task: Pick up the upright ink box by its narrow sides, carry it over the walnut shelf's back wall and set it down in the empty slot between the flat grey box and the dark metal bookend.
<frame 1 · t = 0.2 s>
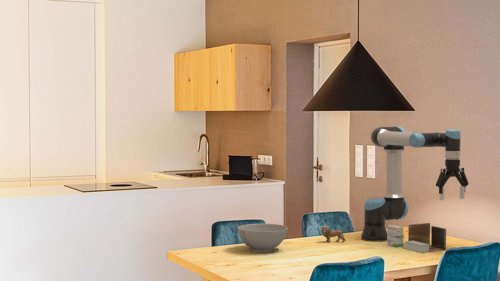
hand: (452, 199, 380), 28 cm above the table, fingers open, 13 cm apart
flat grey box: (416, 250, 379), resting on shelf
decorative bowl: (262, 250, 385), on the table
shelf: (424, 250, 384), on the table
ink box: (395, 248, 392), on the table
bookend: (438, 247, 386), resting on shelf
lion figurine: (332, 242, 409), on the table
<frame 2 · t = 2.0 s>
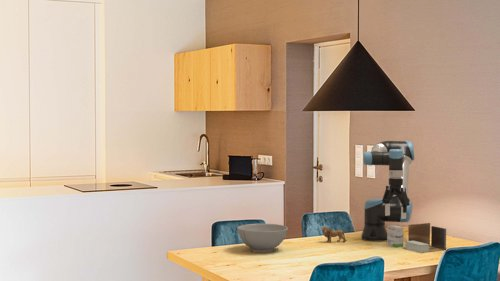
hand: (395, 217, 391), 17 cm above the table, fingers open, 13 cm apart
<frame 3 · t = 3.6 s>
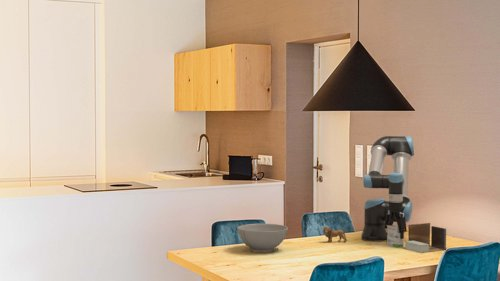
hand: (395, 243, 392), 2 cm above the table, fingers closed on ink box, 9 cm apart
ink box: (395, 248, 392), on the table, touching gripper
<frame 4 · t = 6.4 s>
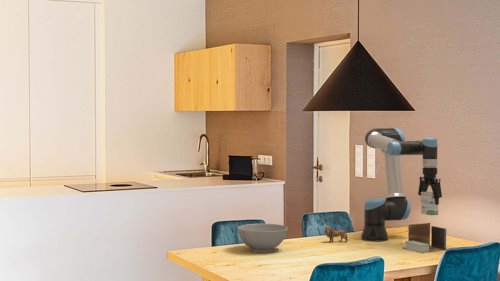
hand: (429, 209, 381), 22 cm above the table, fingers closed on ink box, 9 cm apart
ink box: (429, 214, 381), point 19 cm above the table, touching gripper
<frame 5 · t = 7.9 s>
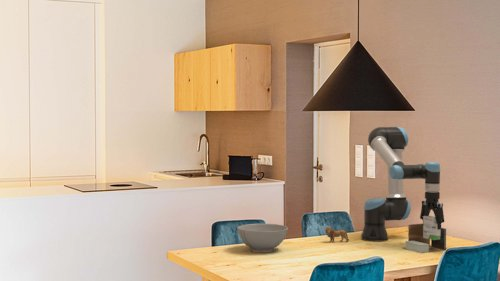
hand: (431, 234, 382), 9 cm above the table, fingers closed on ink box, 9 cm apart
ink box: (431, 239, 382), point 6 cm above the table, touching gripper
when the fingers open (5 cm above the table, at t = 9.2 s): ink box drops 1 cm, resting on shelf.
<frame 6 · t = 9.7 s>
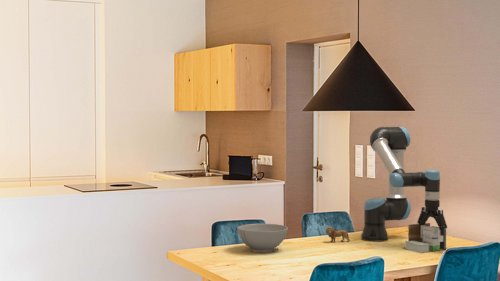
hand: (431, 239, 382), 6 cm above the table, fingers open, 13 cm apart
ink box: (431, 249, 382), point 1 cm above the table, touching shelf
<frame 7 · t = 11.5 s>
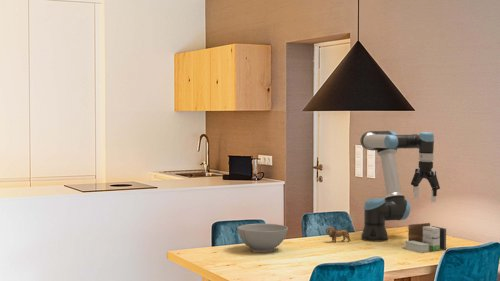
hand: (424, 200, 389), 26 cm above the table, fingers open, 13 cm apart
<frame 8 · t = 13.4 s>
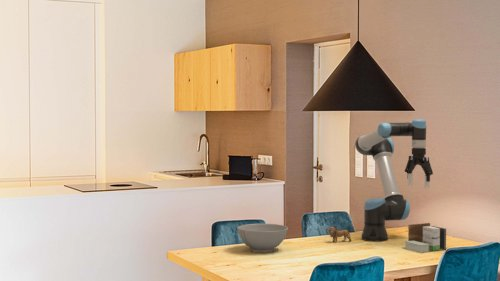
hand: (418, 186, 396), 33 cm above the table, fingers open, 13 cm apart
at the end: ink box inside the target area (0.2 cm from its centre), point 0.8 cm above the table; ink box tilted 0°; the gripper is holding nothing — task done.
